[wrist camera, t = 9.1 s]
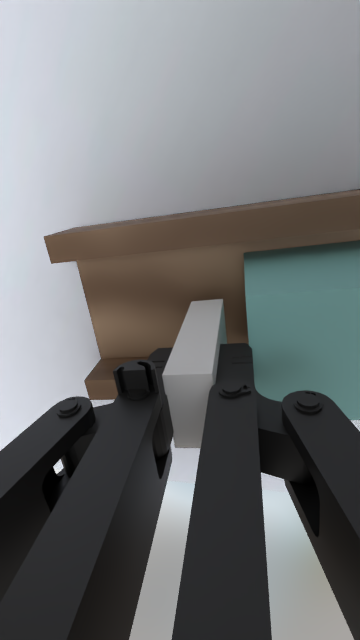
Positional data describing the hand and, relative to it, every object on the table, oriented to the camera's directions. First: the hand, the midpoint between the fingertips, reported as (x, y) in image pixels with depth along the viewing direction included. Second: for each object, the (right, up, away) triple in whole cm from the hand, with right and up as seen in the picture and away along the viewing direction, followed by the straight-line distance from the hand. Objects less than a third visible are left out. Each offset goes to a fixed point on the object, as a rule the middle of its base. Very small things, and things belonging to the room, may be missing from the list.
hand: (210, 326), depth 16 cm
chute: (+1, +2, +4) cm, 5 cm away
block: (+6, +2, +3) cm, 7 cm away
